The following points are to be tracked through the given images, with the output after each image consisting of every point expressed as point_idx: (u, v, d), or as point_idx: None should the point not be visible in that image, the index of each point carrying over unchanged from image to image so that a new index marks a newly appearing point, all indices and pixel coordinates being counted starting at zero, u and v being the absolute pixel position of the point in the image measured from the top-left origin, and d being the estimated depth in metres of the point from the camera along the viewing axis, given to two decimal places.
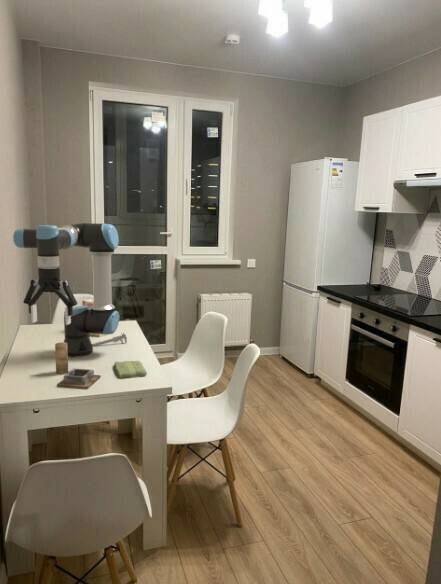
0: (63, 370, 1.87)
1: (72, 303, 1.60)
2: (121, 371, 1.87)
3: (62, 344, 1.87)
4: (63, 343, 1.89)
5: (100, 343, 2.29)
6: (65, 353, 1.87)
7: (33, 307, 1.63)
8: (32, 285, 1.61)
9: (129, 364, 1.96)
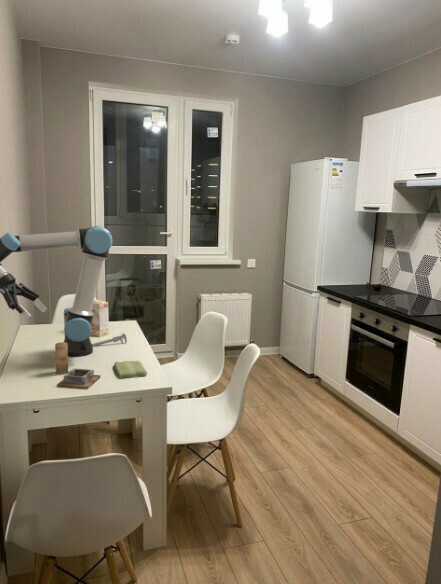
0: (63, 370, 1.87)
1: None
2: (121, 371, 1.87)
3: (62, 344, 1.87)
4: (63, 343, 1.89)
5: (100, 343, 2.29)
6: (65, 353, 1.87)
7: (34, 302, 1.93)
8: None
9: (129, 364, 1.96)
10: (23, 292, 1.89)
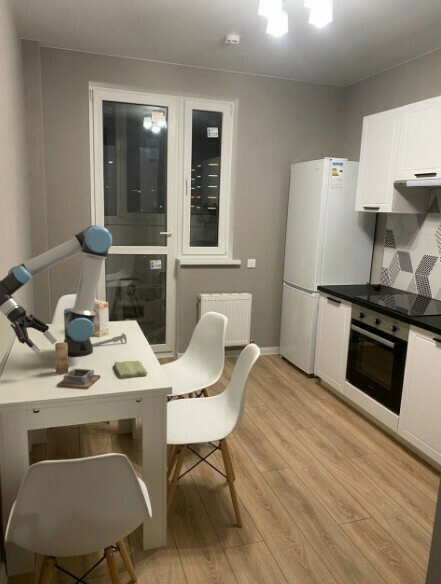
0: (63, 370, 1.87)
1: None
2: (122, 371, 1.87)
3: (62, 344, 1.87)
4: (63, 343, 1.89)
5: (100, 343, 2.29)
6: (65, 353, 1.87)
7: (44, 334, 1.94)
8: None
9: (129, 364, 1.96)
10: (33, 324, 1.90)
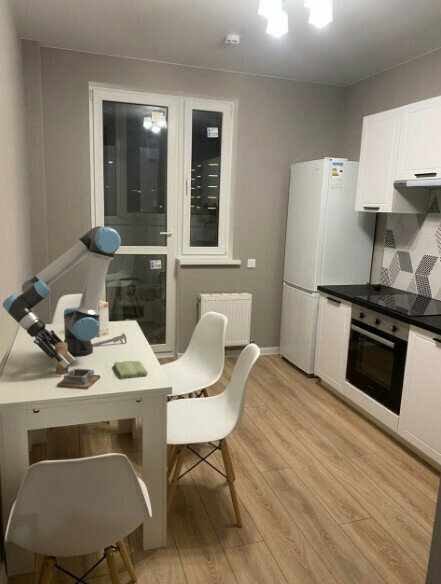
0: (63, 370, 1.87)
1: None
2: (122, 371, 1.87)
3: (62, 344, 1.87)
4: (62, 343, 1.89)
5: (100, 343, 2.29)
6: (65, 353, 1.87)
7: None
8: None
9: (129, 364, 1.95)
10: (52, 339, 1.90)
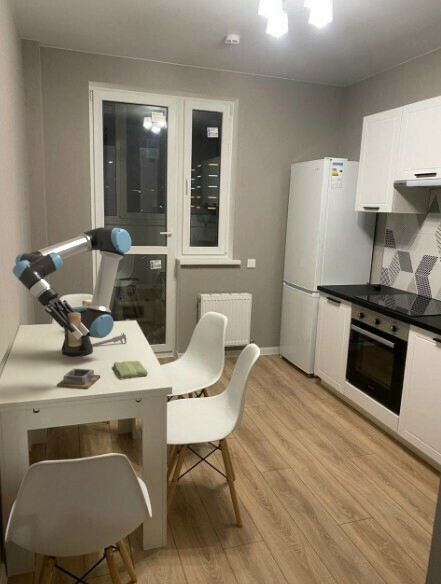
0: (76, 342, 1.74)
1: None
2: (122, 371, 1.86)
3: (75, 314, 1.74)
4: (76, 313, 1.76)
5: (100, 343, 2.29)
6: (78, 323, 1.74)
7: None
8: None
9: (129, 364, 1.95)
10: (64, 309, 1.77)
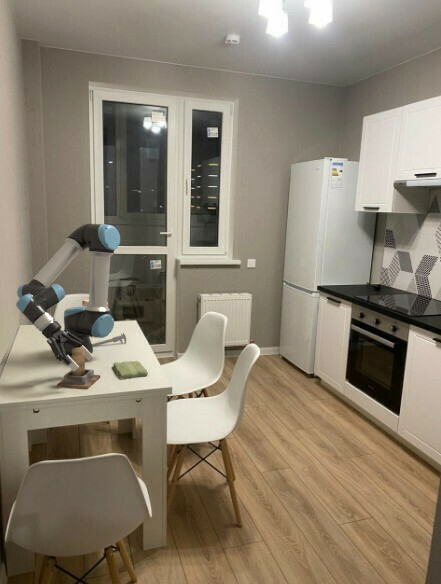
0: None
1: None
2: (122, 371, 1.86)
3: (79, 349, 1.77)
4: (79, 348, 1.79)
5: (99, 343, 2.29)
6: (82, 359, 1.77)
7: None
8: None
9: (129, 364, 1.95)
10: (69, 339, 1.81)
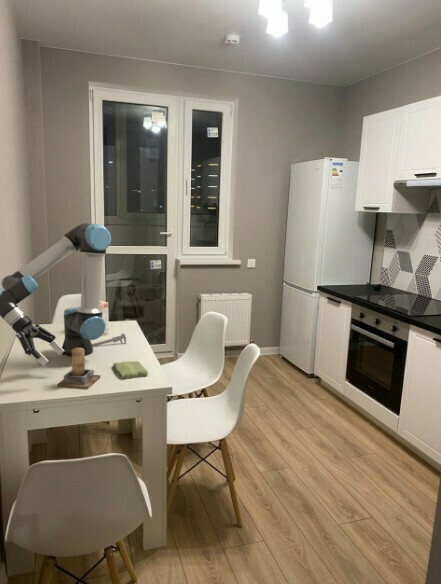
0: None
1: None
2: (123, 372, 1.86)
3: (79, 350, 1.77)
4: (79, 348, 1.78)
5: (99, 343, 2.29)
6: (82, 359, 1.77)
7: (51, 344, 1.85)
8: None
9: (129, 364, 1.95)
10: (39, 334, 1.82)
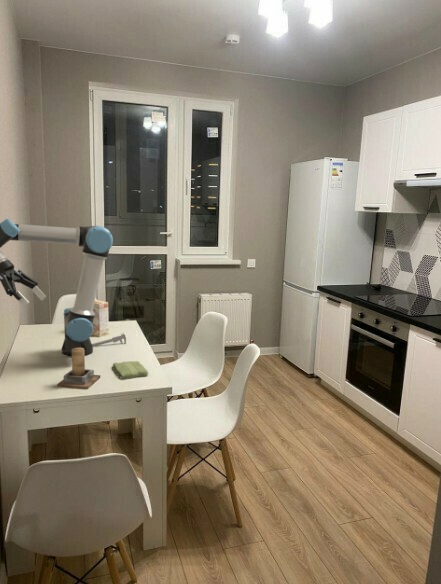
0: None
1: None
2: (123, 372, 1.86)
3: (79, 349, 1.77)
4: (79, 348, 1.79)
5: (99, 343, 2.29)
6: (82, 359, 1.77)
7: (33, 290, 1.90)
8: None
9: (129, 365, 1.95)
10: (22, 279, 1.86)
